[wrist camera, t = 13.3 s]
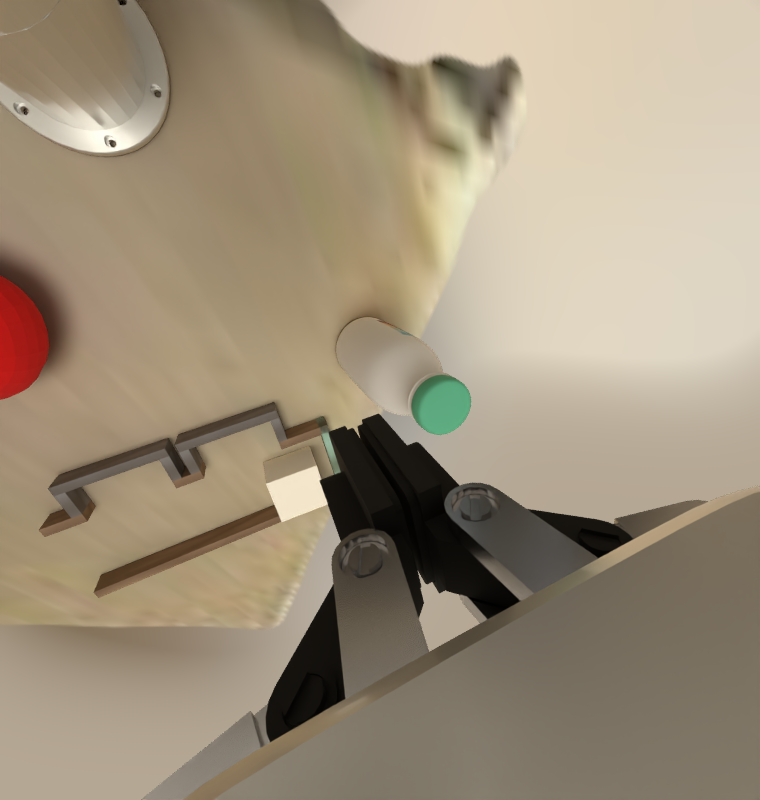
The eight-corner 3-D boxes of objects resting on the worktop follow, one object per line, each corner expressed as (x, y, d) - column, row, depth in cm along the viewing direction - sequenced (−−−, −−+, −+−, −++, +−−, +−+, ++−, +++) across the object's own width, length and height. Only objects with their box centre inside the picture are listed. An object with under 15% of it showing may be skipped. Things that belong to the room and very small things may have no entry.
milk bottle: (342, 384, 45) (408, 468, 28) (327, 325, 42) (391, 377, 24) (398, 367, 47) (492, 435, 30) (388, 309, 44) (488, 346, 26)
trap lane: (26, 486, 37) (12, 500, 35) (314, 388, 44) (318, 395, 42) (105, 580, 44) (98, 597, 41) (344, 482, 51) (349, 493, 48)
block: (263, 461, 45) (266, 483, 41) (309, 445, 47) (316, 465, 42) (277, 497, 48) (281, 522, 44) (320, 481, 49) (328, 503, 45)
